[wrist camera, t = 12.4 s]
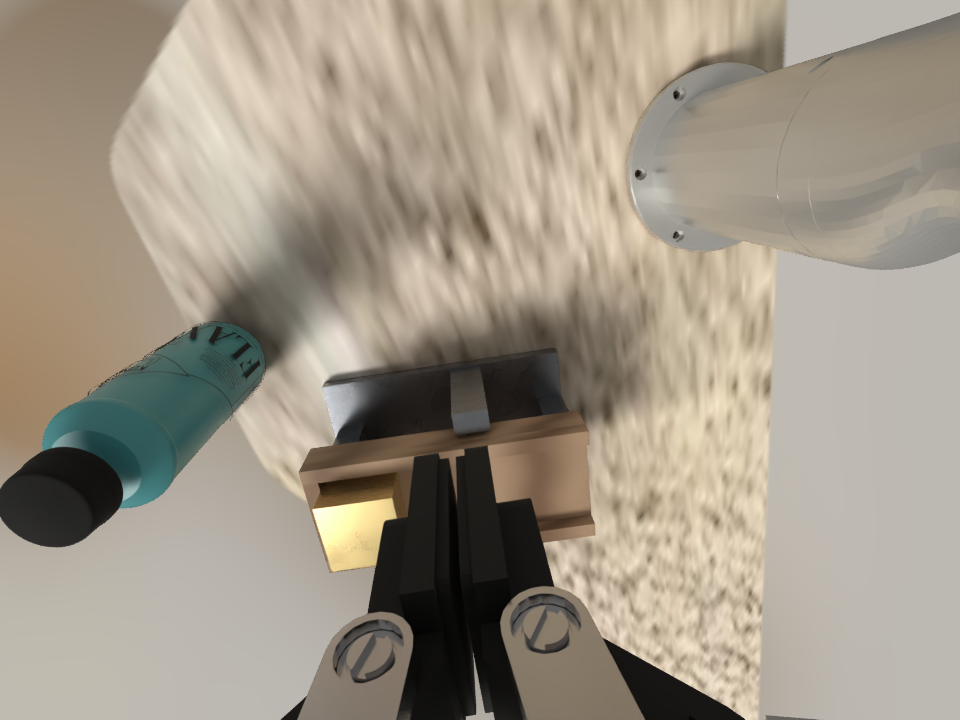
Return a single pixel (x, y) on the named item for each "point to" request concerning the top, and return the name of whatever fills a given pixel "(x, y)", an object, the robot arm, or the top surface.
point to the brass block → (357, 517)
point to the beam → (513, 457)
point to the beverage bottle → (131, 435)
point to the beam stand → (445, 397)
